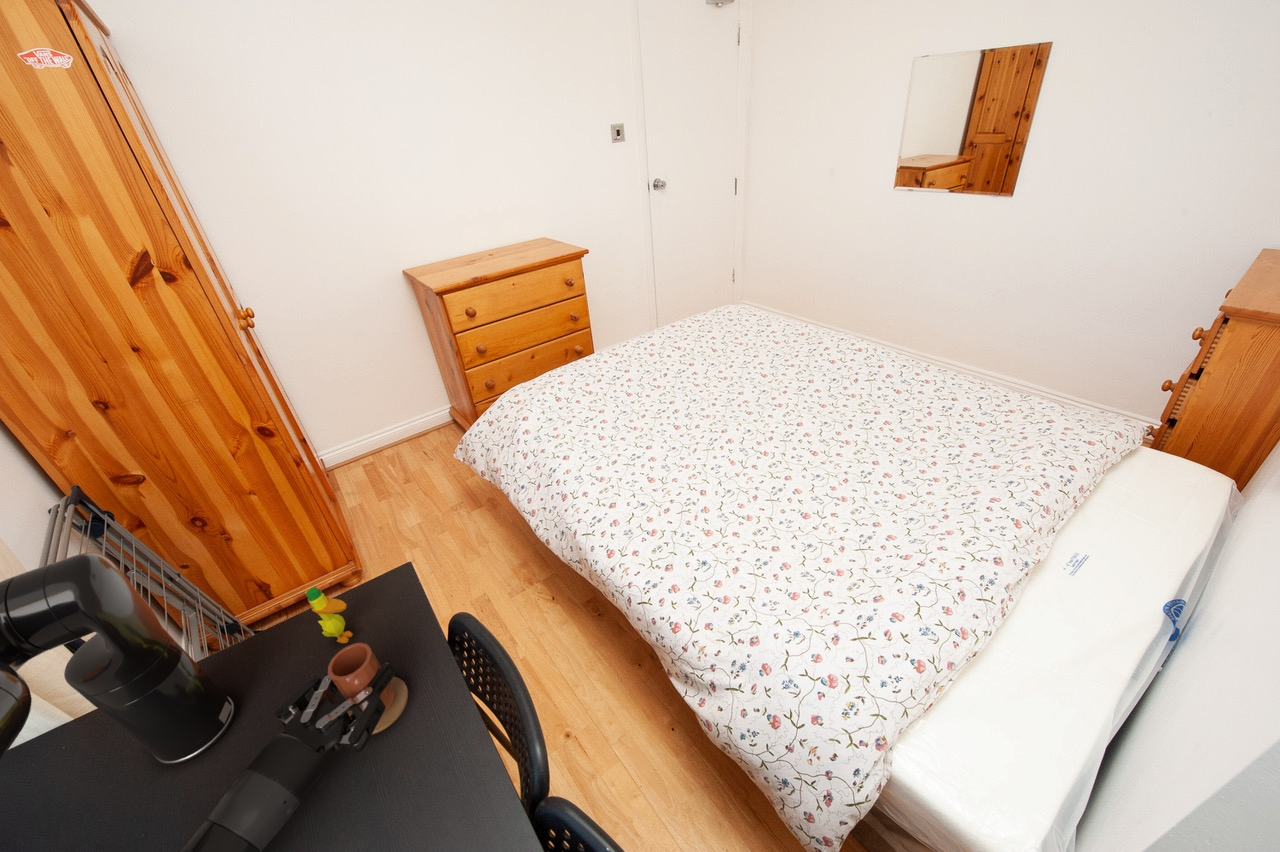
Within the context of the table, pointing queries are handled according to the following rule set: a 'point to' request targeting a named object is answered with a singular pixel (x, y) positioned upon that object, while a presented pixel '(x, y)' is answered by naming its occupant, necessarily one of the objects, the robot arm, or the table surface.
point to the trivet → (392, 705)
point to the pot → (357, 672)
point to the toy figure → (329, 614)
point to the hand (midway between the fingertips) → (373, 661)
